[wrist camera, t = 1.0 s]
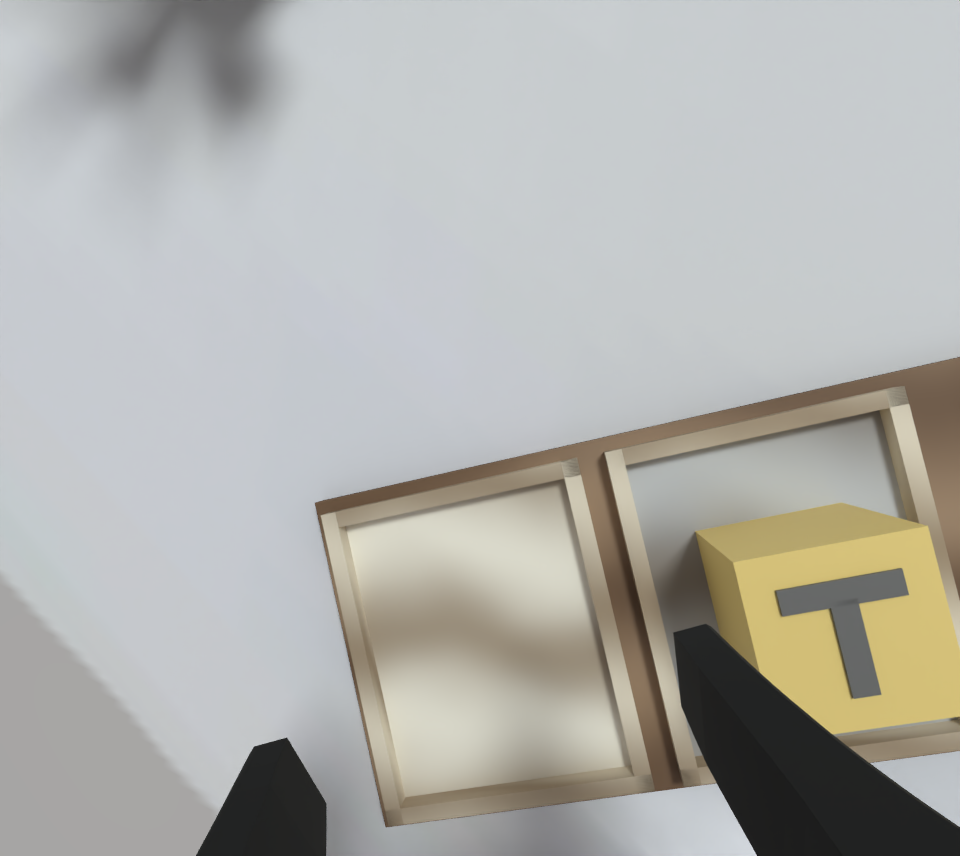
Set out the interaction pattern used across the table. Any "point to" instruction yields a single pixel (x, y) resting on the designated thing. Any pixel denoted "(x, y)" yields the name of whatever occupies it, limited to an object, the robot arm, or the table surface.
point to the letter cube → (838, 613)
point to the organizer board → (605, 590)
